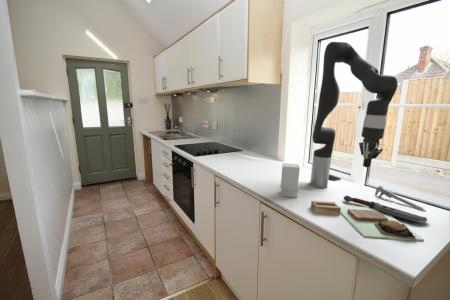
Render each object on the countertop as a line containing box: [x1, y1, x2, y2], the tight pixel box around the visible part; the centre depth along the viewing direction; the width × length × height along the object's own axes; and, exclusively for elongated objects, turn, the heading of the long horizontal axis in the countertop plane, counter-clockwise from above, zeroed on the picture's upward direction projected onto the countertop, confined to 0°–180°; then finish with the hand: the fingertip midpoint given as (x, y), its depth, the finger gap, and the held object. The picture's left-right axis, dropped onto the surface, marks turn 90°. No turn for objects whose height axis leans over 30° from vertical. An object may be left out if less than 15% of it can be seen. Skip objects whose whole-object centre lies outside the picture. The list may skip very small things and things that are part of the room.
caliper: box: [374, 185, 427, 212], centre depth 107 cm, size 20×1×6 cm, turn 35°
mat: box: [338, 205, 425, 242], centre depth 88 cm, size 24×20×1 cm
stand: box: [310, 200, 341, 216], centre depth 96 cm, size 6×10×3 cm, turn 87°
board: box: [347, 209, 388, 222], centre depth 90 cm, size 2×7×12 cm
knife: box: [343, 195, 428, 223], centre depth 98 cm, size 9×2×30 cm
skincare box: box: [280, 162, 301, 199], centre depth 111 cm, size 8×7×16 cm
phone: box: [328, 173, 342, 182], centre depth 145 cm, size 8×1×15 cm
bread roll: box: [375, 220, 416, 241], centre depth 80 cm, size 11×8×4 cm
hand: (366, 166), depth 95 cm, fingers closed
